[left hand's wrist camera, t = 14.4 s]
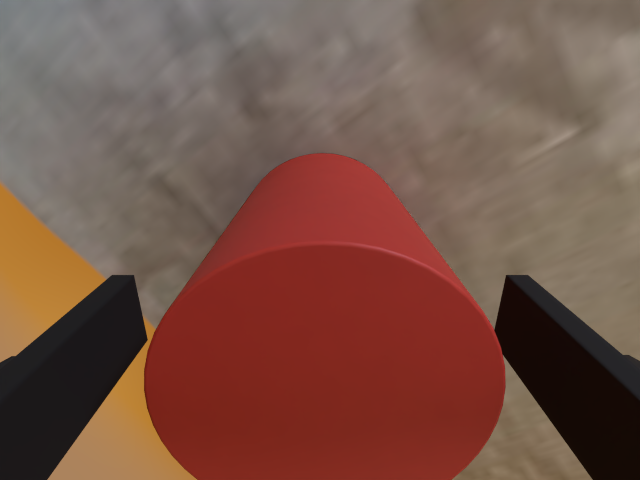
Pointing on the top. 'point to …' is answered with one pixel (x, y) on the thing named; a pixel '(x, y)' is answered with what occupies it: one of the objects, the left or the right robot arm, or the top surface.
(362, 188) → the can
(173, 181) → the top surface
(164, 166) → the top surface
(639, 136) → the top surface
